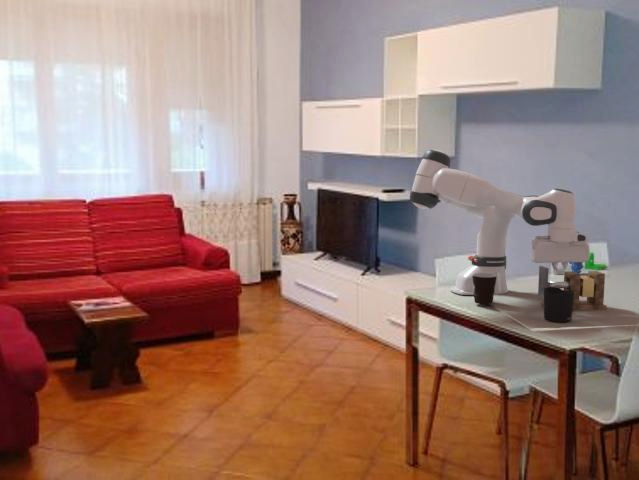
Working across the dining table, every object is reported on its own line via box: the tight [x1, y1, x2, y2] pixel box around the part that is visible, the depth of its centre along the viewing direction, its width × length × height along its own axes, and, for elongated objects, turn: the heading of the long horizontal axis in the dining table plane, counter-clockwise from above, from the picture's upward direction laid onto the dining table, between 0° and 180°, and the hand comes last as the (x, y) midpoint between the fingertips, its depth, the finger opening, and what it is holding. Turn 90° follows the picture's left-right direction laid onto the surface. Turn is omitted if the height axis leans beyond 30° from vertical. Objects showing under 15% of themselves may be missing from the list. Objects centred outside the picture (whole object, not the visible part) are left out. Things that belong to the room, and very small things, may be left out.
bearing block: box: [540, 270, 608, 311], centre depth 253 cm, size 20×9×12 cm, turn 97°
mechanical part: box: [584, 252, 607, 271], centre depth 331 cm, size 12×6×8 cm, turn 138°
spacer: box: [579, 275, 594, 298], centre depth 253 cm, size 4×6×6 cm, turn 7°
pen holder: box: [543, 287, 574, 324], centre depth 234 cm, size 9×9×10 cm
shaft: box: [537, 265, 581, 299], centre depth 252 cm, size 20×5×10 cm, turn 97°
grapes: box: [568, 262, 584, 274], centre depth 316 cm, size 12×7×12 cm, turn 142°
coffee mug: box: [472, 273, 497, 305], centre depth 261 cm, size 12×9×10 cm
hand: (559, 274), depth 251 cm, fingers closed
